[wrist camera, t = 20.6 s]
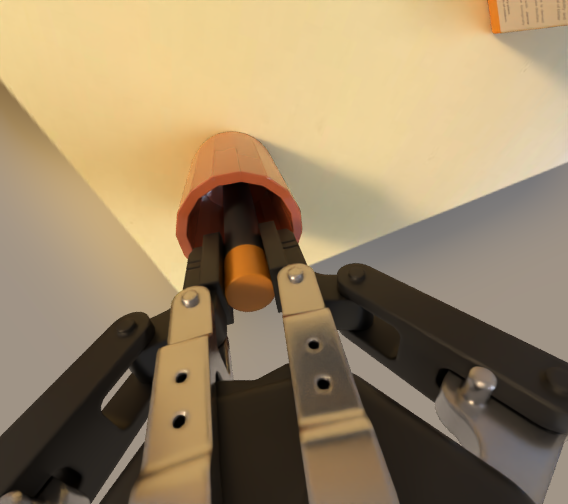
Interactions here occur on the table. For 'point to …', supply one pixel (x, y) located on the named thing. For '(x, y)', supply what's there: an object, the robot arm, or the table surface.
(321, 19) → the table surface
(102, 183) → the table surface
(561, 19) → the supplement box
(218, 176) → the pen cup
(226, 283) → the marker
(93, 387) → the robot arm
